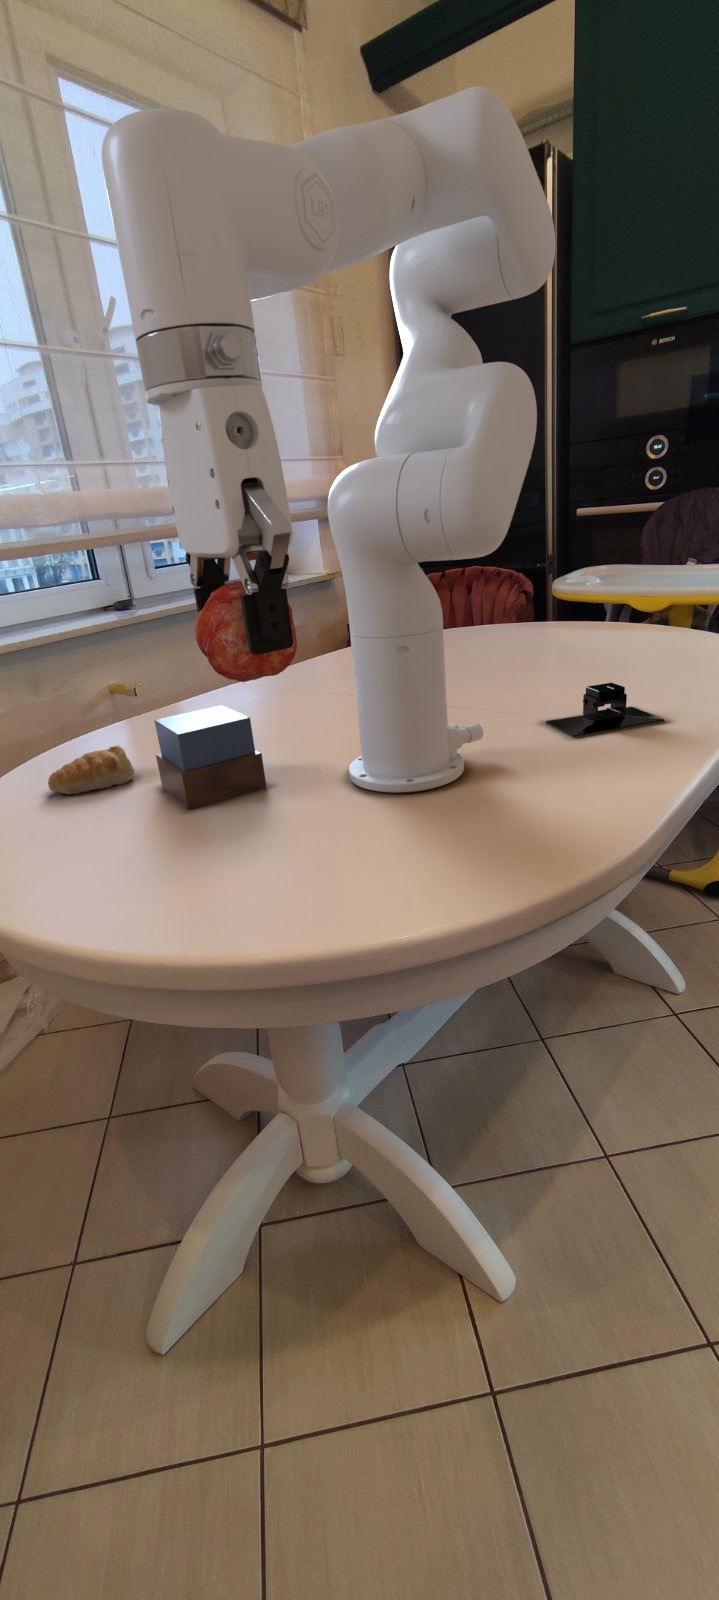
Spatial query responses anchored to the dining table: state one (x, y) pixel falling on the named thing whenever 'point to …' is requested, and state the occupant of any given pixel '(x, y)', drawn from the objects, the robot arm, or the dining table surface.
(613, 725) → the build plate
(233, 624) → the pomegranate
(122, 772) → the pastry
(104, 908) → the dining table surface
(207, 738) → the top block
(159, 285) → the robot arm
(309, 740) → the dining table surface
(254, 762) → the base block
